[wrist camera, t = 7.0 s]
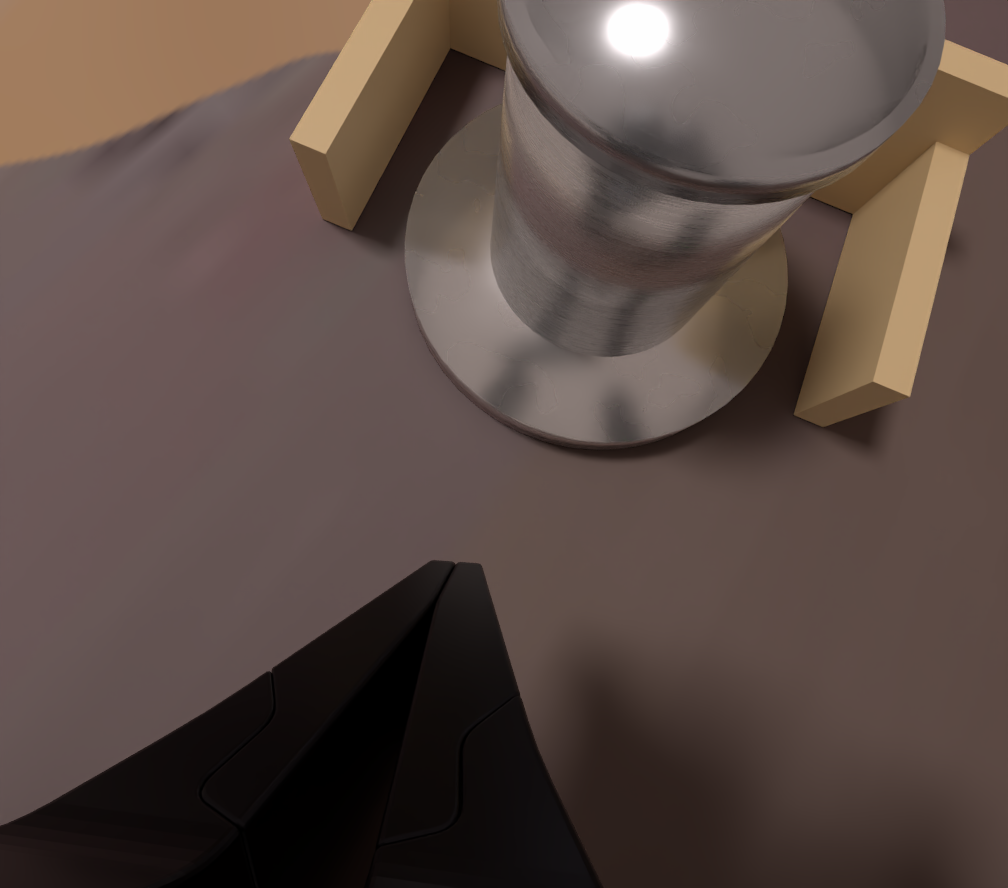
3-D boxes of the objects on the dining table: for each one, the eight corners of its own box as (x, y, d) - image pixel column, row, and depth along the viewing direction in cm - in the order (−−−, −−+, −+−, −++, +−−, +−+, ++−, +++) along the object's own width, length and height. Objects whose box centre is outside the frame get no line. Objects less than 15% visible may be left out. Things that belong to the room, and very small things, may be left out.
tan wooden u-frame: (823, 427, 20) (970, 375, 14) (322, 218, 20) (265, 82, 14) (888, 194, 22) (1039, 67, 17) (439, 8, 23) (431, -182, 17)
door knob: (700, 512, 19) (1000, 459, 9) (343, 356, 19) (196, 111, 9) (807, 200, 22) (1129, -131, 12) (497, 67, 22) (529, -381, 12)
